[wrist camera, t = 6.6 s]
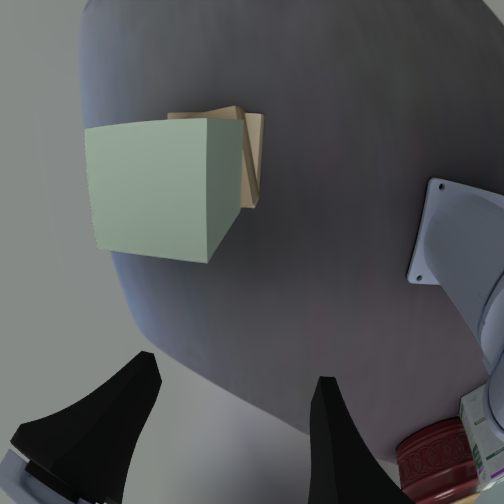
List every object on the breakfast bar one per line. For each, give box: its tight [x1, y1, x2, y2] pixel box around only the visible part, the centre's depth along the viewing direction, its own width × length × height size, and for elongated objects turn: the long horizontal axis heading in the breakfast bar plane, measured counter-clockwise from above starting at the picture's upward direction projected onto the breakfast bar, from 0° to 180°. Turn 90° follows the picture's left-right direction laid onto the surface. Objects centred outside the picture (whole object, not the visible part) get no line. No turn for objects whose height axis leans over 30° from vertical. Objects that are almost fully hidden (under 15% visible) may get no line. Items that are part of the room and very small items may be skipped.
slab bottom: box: [167, 112, 265, 208], centre depth 17 cm, size 6×6×2 cm
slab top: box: [180, 106, 259, 208], centre depth 14 cm, size 5×5×2 cm
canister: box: [396, 418, 481, 504], centre depth 22 cm, size 13×13×18 cm
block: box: [85, 118, 244, 263], centre depth 11 cm, size 4×4×6 cm
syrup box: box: [459, 384, 504, 491], centre depth 18 cm, size 6×6×14 cm
